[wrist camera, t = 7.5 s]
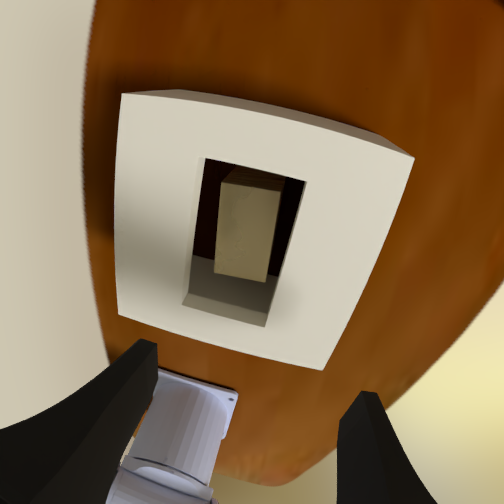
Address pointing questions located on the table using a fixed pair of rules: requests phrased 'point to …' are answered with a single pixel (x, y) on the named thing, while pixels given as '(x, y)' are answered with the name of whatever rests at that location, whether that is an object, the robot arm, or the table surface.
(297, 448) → the table surface
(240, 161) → the slot box
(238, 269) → the wooden brick
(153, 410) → the robot arm
